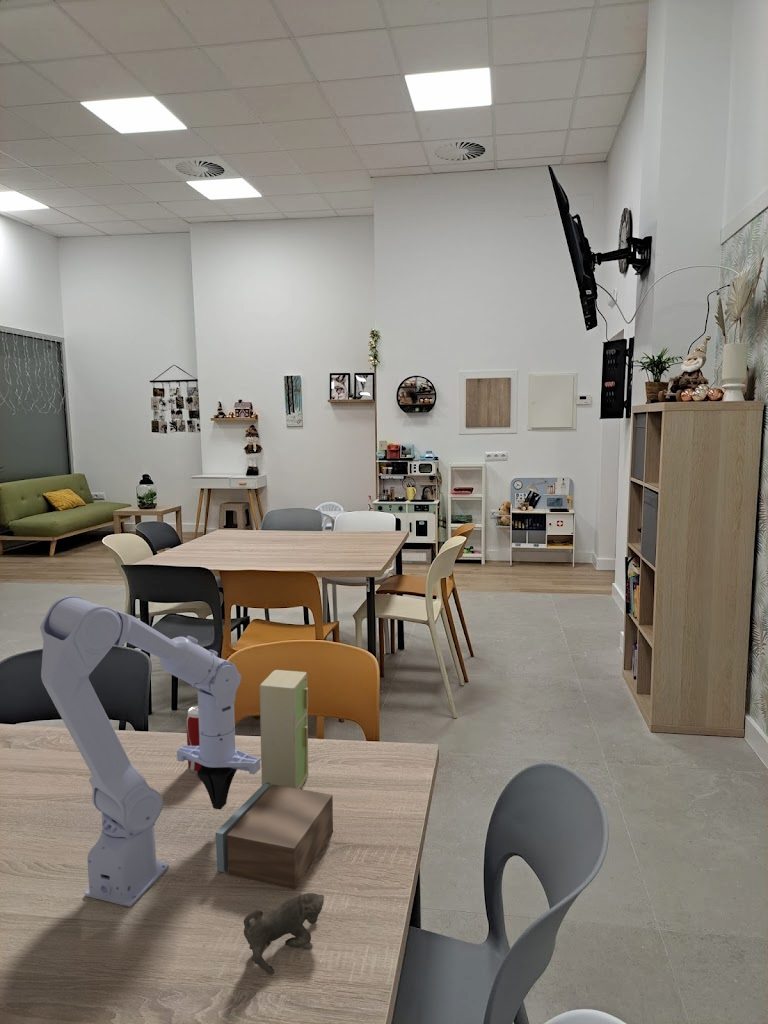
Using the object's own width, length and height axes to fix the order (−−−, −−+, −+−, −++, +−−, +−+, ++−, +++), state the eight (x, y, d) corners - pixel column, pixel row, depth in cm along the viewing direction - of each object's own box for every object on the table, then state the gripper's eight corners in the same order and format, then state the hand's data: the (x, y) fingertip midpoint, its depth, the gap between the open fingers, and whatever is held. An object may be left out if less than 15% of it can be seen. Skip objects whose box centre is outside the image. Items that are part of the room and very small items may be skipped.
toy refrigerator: (299, 798, 125) (297, 688, 122) (261, 794, 126) (258, 684, 123) (312, 776, 133) (311, 671, 130) (276, 772, 134) (274, 669, 131)
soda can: (199, 777, 132) (197, 717, 131) (182, 768, 136) (180, 710, 134) (221, 766, 136) (219, 708, 135) (204, 758, 140) (202, 701, 138)
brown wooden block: (295, 889, 101) (294, 848, 100) (228, 874, 104) (227, 834, 103) (333, 831, 115) (332, 794, 114) (273, 819, 118) (272, 784, 117)
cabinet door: (223, 872, 104) (222, 834, 103) (211, 869, 105) (209, 831, 104) (273, 816, 119) (272, 782, 118) (261, 814, 120) (260, 780, 119)
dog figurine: (257, 984, 84) (254, 929, 83) (236, 954, 89) (234, 902, 88) (339, 938, 91) (338, 887, 90) (316, 913, 96) (315, 864, 95)
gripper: (268, 724, 115) (269, 800, 117) (192, 713, 119) (195, 786, 121) (247, 743, 108) (249, 823, 110) (168, 730, 113) (171, 808, 114)
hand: (219, 805), depth 115 cm, fingers closed
